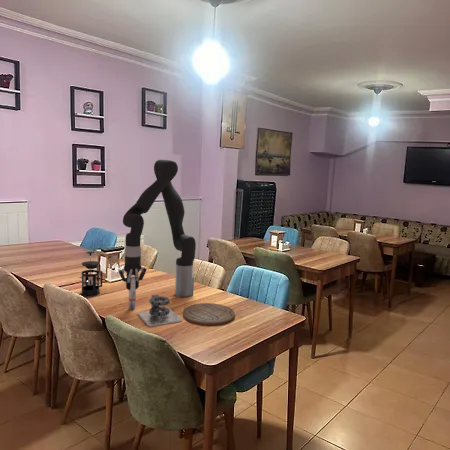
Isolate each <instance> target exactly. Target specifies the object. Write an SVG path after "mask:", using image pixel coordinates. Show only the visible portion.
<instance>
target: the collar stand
mask: <svg viewBox="0 0 450 450" xmlns="http://www.w3.org/2000/svg"><path fill="white" fill-rule="evenodd" d="M170 301H171V299H170V298H169V297H167V296H160V295H159V294H152V295H151V297H150V299H149V304H150V305H151V308H150V309H149V310H145V311H138V312H136V313H137V316H138V317H139V319H140V320H141V321H143V323H145V325H146V326H147V327H148V328H151V327H157V326H161V325H162V326H163V325H169V324H175V323H180V322H183V318H181V317H180V316H179V315H178V314H176V312H174V311H173V310H172V309H171V308H170V307H167V306H168V305H169V304H170Z"/></svg>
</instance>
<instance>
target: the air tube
mask: <svg viewBox="0 0 450 450" xmlns="http://www.w3.org/2000/svg"><path fill="white" fill-rule="evenodd" d="M136 292H137V289H136V277H135V276H134V275H132V276H131V278H130V290H128V310H130V311H134V310H136V303H137V301H136V300H137V295H136Z"/></svg>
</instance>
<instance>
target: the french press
mask: <svg viewBox="0 0 450 450" xmlns="http://www.w3.org/2000/svg"><path fill="white" fill-rule="evenodd" d="M86 254H89V260H87V261H82V262H81V265H82V267H85V268H86V270H82V271H81V294H80V295H82V296H83V297H90V298H91V297H96V296H98V295H100V288H101V287H103V270H100V269H99V270H97V269H98V268H99V265H100V262H99V261H95V260H92V254H95V252H94V251H87V252H86ZM84 279H85V280H84Z"/></svg>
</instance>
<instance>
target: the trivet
mask: <svg viewBox="0 0 450 450" xmlns="http://www.w3.org/2000/svg"><path fill="white" fill-rule="evenodd" d="M235 313H236V312H235V311H234V309H232V308H231V307H230V306H227V305H223V304H220V303H212V302H203V303H202V302H201V303H195V304H191V305H188V306H186V307H184V309H183V311H182V317H183V319H184V320H186V321H187V322H189V323H191V324H195V325H200V326H207V327H211V326H222V325H225V324H226V325H227V324H229V323H231V322H233V320H234V319H235V315H236V314H235Z"/></svg>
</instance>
